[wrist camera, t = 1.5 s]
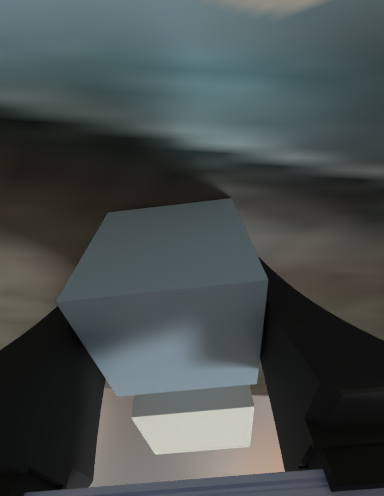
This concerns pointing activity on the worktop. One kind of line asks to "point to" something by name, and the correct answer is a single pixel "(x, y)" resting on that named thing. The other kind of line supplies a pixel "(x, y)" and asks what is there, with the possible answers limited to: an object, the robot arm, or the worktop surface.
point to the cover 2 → (195, 419)
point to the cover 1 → (170, 299)
